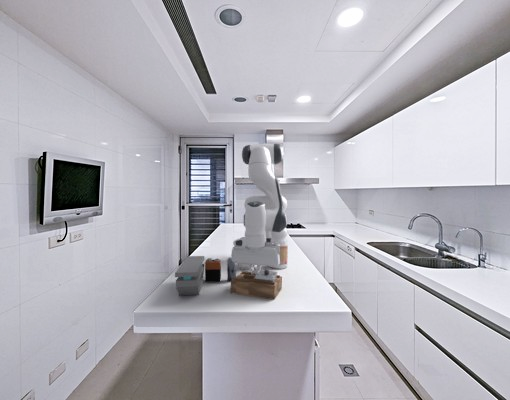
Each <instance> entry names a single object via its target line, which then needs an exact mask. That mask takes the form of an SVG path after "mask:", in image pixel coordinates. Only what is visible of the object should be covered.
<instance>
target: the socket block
mask: <svg viewBox="0 0 510 400" xmlns="http://www.w3.org/2000/svg"><path fill="white" fill-rule="evenodd" d="M282 289H283V276H281V275H278V274H277V279H276V280H275V282H270V281H261V280H256V276H255V275H251V271H245V270H244V271H243V270H242V271H241V272H240V273H238V275H236V277H234V278H233V279H232V280H231V282H230V294H235V295H242V296H247V297H254V298H255V297H256V298H261V299H262V298H263V299H269V300H275V299H276V298H277V296H278V295H279V293H280V292H281V291H282Z"/></svg>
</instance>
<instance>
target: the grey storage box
mask: <svg viewBox="0 0 510 400" xmlns="http://www.w3.org/2000/svg"><path fill="white" fill-rule="evenodd" d="M204 261H205V255H188V256H186V257H185V258H184V260H183V261H182V263H181V264H180V265H179V267H178V268H177V270H175V273H174V278H176V279H175V289H176V292H177V294H178V295H179V296H192V295H193V296H194V295H195V296H196V295H197V296H198V295H200V294H201V291H202V287H203V285H204V276H205V263H204Z"/></svg>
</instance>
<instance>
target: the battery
mask: <svg viewBox="0 0 510 400" xmlns="http://www.w3.org/2000/svg"><path fill="white" fill-rule="evenodd" d="M221 276H222V260H221V259H219V258H215V259H213V258H212V257H208V258H207V259H206V260H205V262H204V282H206V283H207V282H208V283H210V282H211V283H215V282H216V283H217V282H218V283H220V282H221V279H222V277H221Z"/></svg>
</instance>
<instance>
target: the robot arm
mask: <svg viewBox="0 0 510 400" xmlns="http://www.w3.org/2000/svg"><path fill="white" fill-rule="evenodd" d="M283 158H284V149H283V147H282V145H281V144H279V143H257V144H247V145H245V146H243V148H242V151H241V159H242V163H244V164H245V165H248V167H247V168H248V170H247V171H248V178H249V180H250V182H252V183H253V184H254V185H255V186H256V188H257V190H259V191H261V192H263V193H264V194H265V195H250V196H247V197H246V198H245V200H244V209H245V211H244V214H243V226H244V227H245V231H244V236H243V237H240V238H237V239H235V240H233V242H232V243H233V246H232V249H231V256H230V258H231V260H232V262H233V263H236V264H238V263H242V264H249V268H250V269H249V270H250V272H251V275H255V276H256V274H258V273H259V272H260V271H261V270H262V267H271V266H272V267H277V266H278V265H279V264H280V256H279V253H280V246H279V245H278V244H277V243H270V241H271V238H272V236H271V231H273V232H281V231H283V230H284V229H285V228H286V229H287V226H288V218H287V217H288V216H287V214H286V210H288V209H287V208H288V201H287V199H286V197H284V196H283V195H282V191H281V189H282V188H281V185H280V181H279V178H278V177H277V176H276V175H275V167H274V166H276V165H278V164H280V163H281V162H282V161H283ZM276 245H278V246H276ZM253 265H254V266H256V268H257V269H254V266H253ZM272 267H271V268H272Z"/></svg>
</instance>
